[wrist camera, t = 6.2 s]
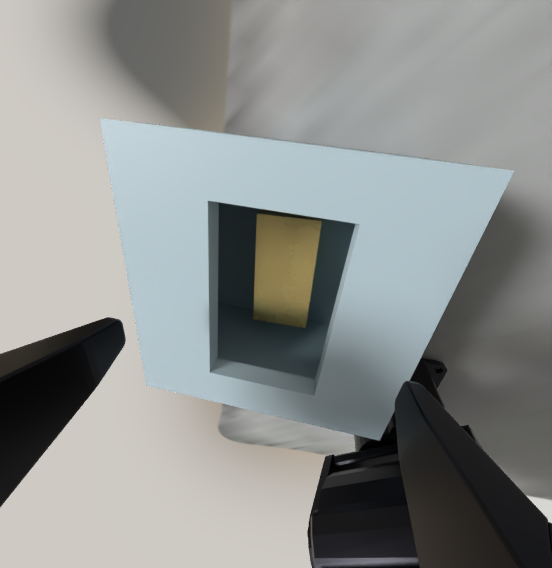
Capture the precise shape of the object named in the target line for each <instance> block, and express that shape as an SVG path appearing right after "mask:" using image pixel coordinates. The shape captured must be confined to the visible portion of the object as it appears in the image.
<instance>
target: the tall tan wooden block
mask: <svg viewBox="0 0 552 568" xmlns="http://www.w3.org/2000/svg"><path fill="white" fill-rule="evenodd" d="M321 224H322V218H316V217H310V216H304V215H297V214H291V213H284V212H278V211H271V210H265V209H261V210H260V211H259V212H258V213H257V223H256V252H255V282H254V311H253V320H259V321H265V322H271V323H278V324H284V325H290V326H296V327H302V328H306V323H307V317H308V310H309V303H310V297H311V290H312V283H313V277H314V270H315V264H316V257H317V250H318V244H319V237H320V230H321Z"/></svg>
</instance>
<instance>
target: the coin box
mask: <svg viewBox="0 0 552 568" xmlns="http://www.w3.org/2000/svg"><path fill="white" fill-rule="evenodd" d="M100 123H101V129H102V134H103V140H104V146H105V152H106V157H107V163H108V169H109V174H110V180H111V186H112V191H113V197H114V203H115V209H116V214H117V220H118V226H119V231H120V237H121V242H122V249H123V254H124V260H125V265H126V271H127V277H128V283H129V288H130V294H131V300H132V306H133V311H134V317H135V323H136V328H137V334H138V340H139V345H140V351H141V357H142V363H143V368H144V374H145V380H146V385H147V386H151V387H155V388H159V389H164V390H168V391H172V392H176V393H180V394H185V395H189V396H193V397H197V398H202V399H207V400H210V401H214V402H219V403H223V404H227V405H231V406H235V407H240V408H244V409H248V410H252V411H256V412H261V413H265V414H269V415H273V416H277V417H282V418H286V419H290V420H294V421H299V422H303V423H307V424H311V425H315V426H320V427H324V428H328V429H332V430H336V431H341V432H345V433H349V434H353V435H358V436H362V437H366V438H370V439H374V440H379V441H380V439H381V437H382V435H383V433H384V431H385V429H386V427H387V425H388V423H389V421H390V419H391V417H392V415H393V413H394V411H395V399H396V397H397V395H398V393H399V391H400V389H401V387H402V385H403V383H404V382H405V381H410V379H411V377H412V375H413V373H414V371H415V369H416V367H417V365H418V363H419V361H420V359H421V357H422V355H423V353H424V351H425V349H426V347H427V345H428V343H429V341H430V339H431V337H432V335H433V333H434V331H435V329H436V327H437V325H438V323H439V321H440V319H441V317H442V315H443V313H444V311H445V309H446V307H447V305H448V303H449V301H450V299H451V297H452V295H453V293H454V291H455V289H456V287H457V285H458V283H459V281H460V279H461V277H462V275H463V273H464V271H465V269H466V267H467V265H468V263H469V261H470V259H471V257H472V255H473V253H474V251H475V249H476V247H477V245H478V243H479V241H480V239H481V237H482V235H483V233H484V231H485V229H486V227H487V225H488V223H489V221H490V219H491V217H492V215H493V213H494V211H495V209H496V207H497V205H498V203H499V201H500V199H501V197H502V195H503V193H504V191H505V189H506V187H507V185H508V183H509V181H510V179H511V177H512V175H513V173H514V171H512V170H505V169H498V168H491V167H484V166H476V165H469V164H462V163H455V162H448V161H441V160H434V159H427V158H419V157H411V156H404V155H396V154H388V153H380V152H372V151H364V150H356V149H348V148H341V147H333V146H325V145H317V144H309V143H301V142H293V141H286V140H278V139H270V138H262V137H254V136H246V135H238V134H230V133H223V132H215V131H207V130H198V129H190V128H181V127H173V126H164V125H156V124H147V123H138V122H130V121H121V120H112V119H104V118H100ZM261 209H265V210H271V211H278V212H284V213H291V214H297V215H304V216H310V217H316V218H322V224H321V230H320V237H319V244H318V250H317V257H316V264H315V270H314V277H313V283H312V290H311V297H310V303H309V310H308V317H307V323H306V328H302V327H296V326H290V325H284V324H278V323H271V322H265V321H259V320H253V311H254V282H255V252H256V223H257V213H258V212H259V211H260V210H261Z"/></svg>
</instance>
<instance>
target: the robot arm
mask: <svg viewBox="0 0 552 568" xmlns="http://www.w3.org/2000/svg"><path fill="white" fill-rule="evenodd" d="M124 344H125V334H124V329H123V324H122V322H121V321H120V320H119V319H115V318H109V317H108V318H104V319H101V320H98V321H95V322H92V323H90V324H87V325H84V326H81V327H78V328H75V329H72V330H69V331H66V332H63V333H60V334H57V335H54V336H52V337H49V338H46V339H43V340H40V341H37V342H34V343H31V344H28V345H25V346H22V347H20V348H17V349H14V350H11V351H8V352H5V353H2V354H0V507H1V506H2V505H3V503H4V502H5V501H6V499H7V498H8V497H9V496H10V495H11V493H12V492H13V491H14V490H15V488H16V487H17V486H18V485H19V483H20V482H21V481H22V479H23V478H24V477H25V476H26V475H27V473H28V472H29V471H30V470H31V468H32V467H33V466H34V465H35V463H36V462H37V461H38V460H39V458H40V457H41V456H42V455H43V453H44V452H45V451H46V450H47V448H48V447H49V446H50V445H51V444H52V442H53V441H54V440H55V439H56V437H57V436H58V435H59V434H60V432H61V431H62V430H63V429H64V427H65V426H66V425H67V424H68V422H69V421H70V420H71V419H72V417H73V416H74V415H75V414H76V412H77V411H78V410H79V409H80V407H81V406H82V405H83V404H84V402H85V401H86V400H87V399H88V397H89V396H90V395H91V394H92V392H93V391H94V390H95V388H96V387H97V386H98V384H99V383H100V381H101V380H102V378H103V377H104V375H105V374H106V372H107V371H108V369H109V368H110V366H111V365H112V363H113V362H114V360H115V358H116V357H117V356H118V354H119V353H120V351H121V350H122V348H123V346H124ZM438 368H440V369H438ZM446 372H447V369H446V367H445V365H444V364H443V363H442V362H439V361H434V360H429V359H424V358H421V359H420V361H419V363H418V365H417V367H416V369H415V371H414V373H413V375H412V377H411V379H410V381H405V382H404V383H403V385H402V387H401V389H400V391H399V393H398V395H397V397H396V399H395V411H394V413H393V415H392V417H391V419H390V421H389V423H388V425H387V427H386V429H385V431H384V433H383V435H382V437H381V439H380V441H379V440H374V439H370V438H366V437H362V436H358V435H354V436H355V448H356V451H355V452H351V453H346V454H341V455H337V456H335V455H329V456H326V457H325V460H324V464H323V468H322V471H321V475H320V479H319V483H318V487H317V491H316V495H315V499H314V502H313V507H312V510H311V514H310V519H309V527H308V541H309V542H308V544H309V553H310V561H311V565H312V568H552V523H549V522H548V519H547V518H546V517H545V516H544V515H543V513H542V512H541V511H540V510H539V509H538V508H537V507H536V506H535V505H534V504H533V503H532V502H531V501H530V500H529V499H528V497H527V496H526V495H525V494H524V493H523V492H522V491H521V490H520V489H519V488H518V487H517V486H516V485H515V484H514V483H513V481H512V480H511V479H510V478H509V477H508V476H507V475H506V474H505V473H504V472H503V471H502V470H501V469H500V468H499V467H498V465H497V464H496V463H495V462H494V461H493V460H492V459H491V458H490V457H489V456H488V455H487V454H486V453H485V452H484V450H483V449H482V447H481V445H480V444H479V442H478V440H477V439H476V437H475V435H474V434H473V432H472V430H471V428H470V427H469V425H465V426H460V425H459V424H458V423H457V422H456V421H455V420H454V418H453V417H452V416H451V415H450V414H449V413H448V412H447V411H446V410H445V409H444V404H443V402H442V400H441V397H440V395H439V393H438V390H437V388H438V386H439V384H440V382H441V381H442V379H443V377H444V376H445V374H446Z"/></svg>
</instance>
